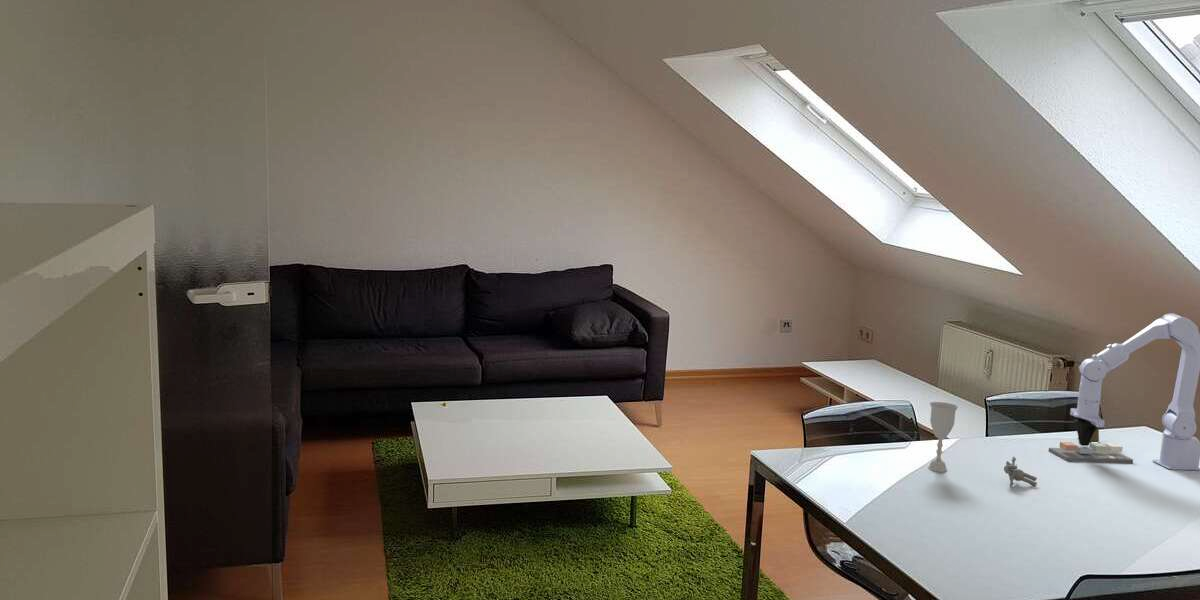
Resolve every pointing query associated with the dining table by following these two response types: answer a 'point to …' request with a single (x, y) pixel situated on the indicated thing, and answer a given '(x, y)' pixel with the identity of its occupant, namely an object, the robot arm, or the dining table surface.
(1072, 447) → the key terracotta
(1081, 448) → the key blue
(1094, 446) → the key sage
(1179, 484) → the dining table surface
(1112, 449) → the key cream
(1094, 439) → the cork
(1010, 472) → the toy figurine
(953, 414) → the chalice
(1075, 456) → the keypad base
